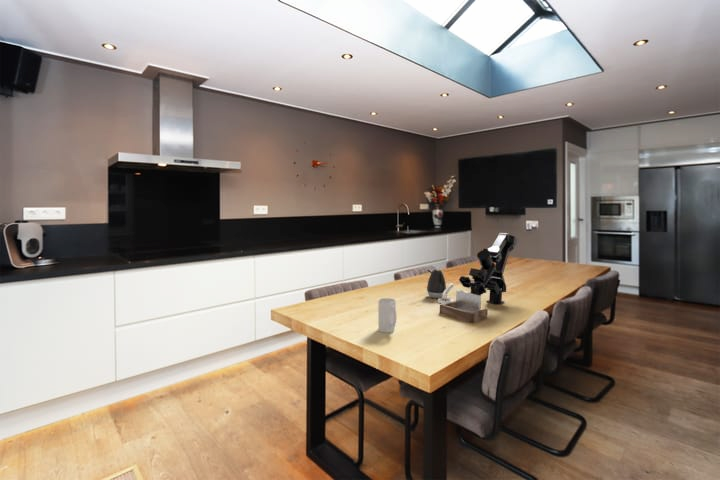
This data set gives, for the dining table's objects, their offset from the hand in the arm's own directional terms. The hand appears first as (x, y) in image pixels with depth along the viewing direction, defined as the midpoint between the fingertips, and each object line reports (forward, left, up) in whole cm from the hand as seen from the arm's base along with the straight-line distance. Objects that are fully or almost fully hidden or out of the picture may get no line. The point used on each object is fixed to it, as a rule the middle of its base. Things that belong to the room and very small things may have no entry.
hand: (470, 299), depth 168 cm
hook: (-6, -19, -7) cm, 21 cm away
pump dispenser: (-10, -28, -7) cm, 31 cm away
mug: (+46, -6, -7) cm, 47 cm away
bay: (+6, 0, -6) cm, 9 cm away
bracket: (+5, 0, -7) cm, 9 cm away
